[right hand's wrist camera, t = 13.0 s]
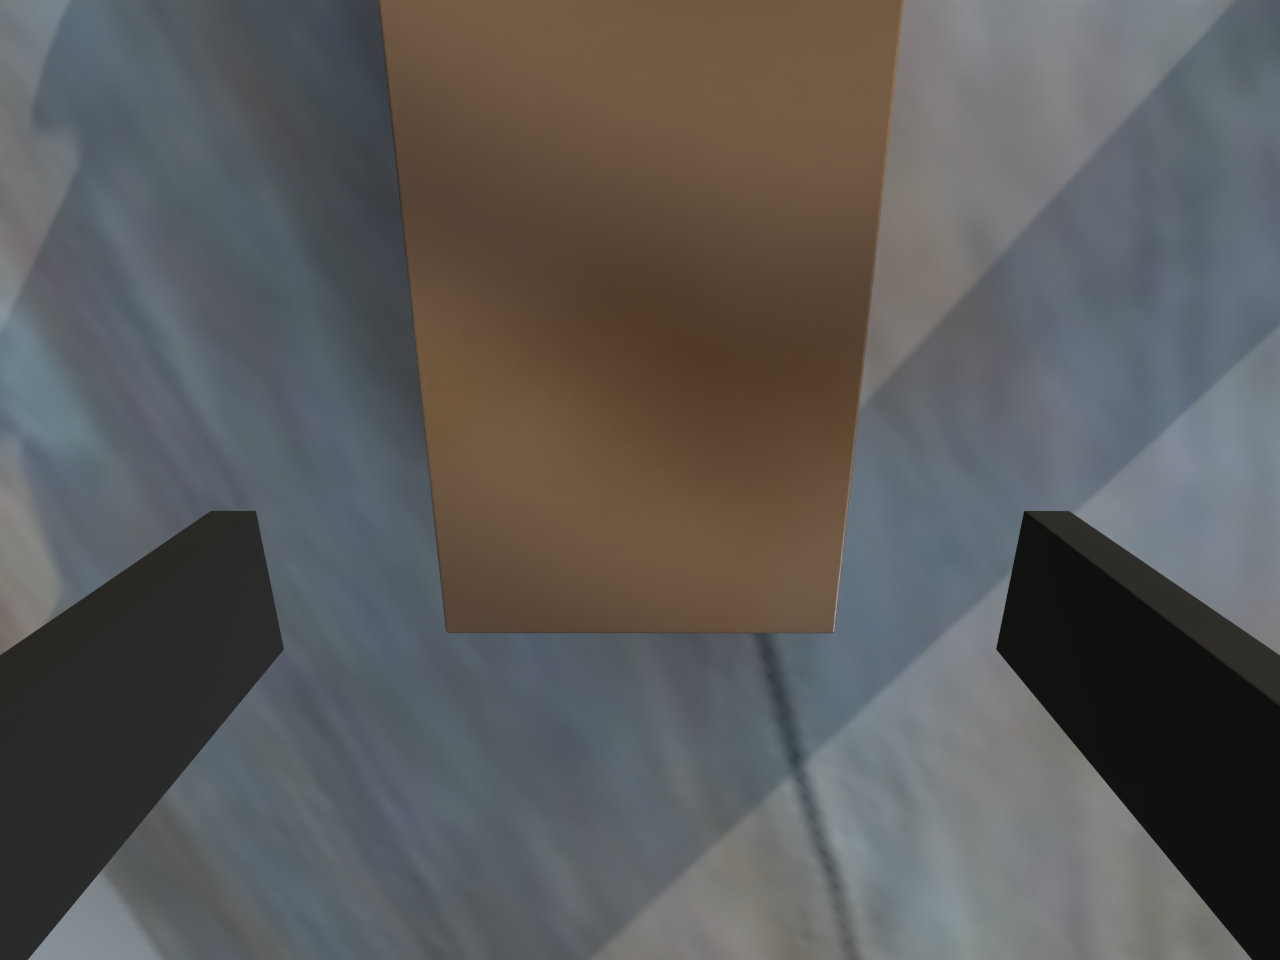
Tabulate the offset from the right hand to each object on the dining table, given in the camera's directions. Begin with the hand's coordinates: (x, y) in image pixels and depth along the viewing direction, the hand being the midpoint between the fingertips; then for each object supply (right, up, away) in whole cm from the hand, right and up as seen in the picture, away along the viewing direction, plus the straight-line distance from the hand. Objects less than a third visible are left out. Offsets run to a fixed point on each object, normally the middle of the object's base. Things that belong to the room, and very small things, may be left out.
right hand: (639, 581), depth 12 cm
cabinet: (0, +10, +11) cm, 14 cm away
